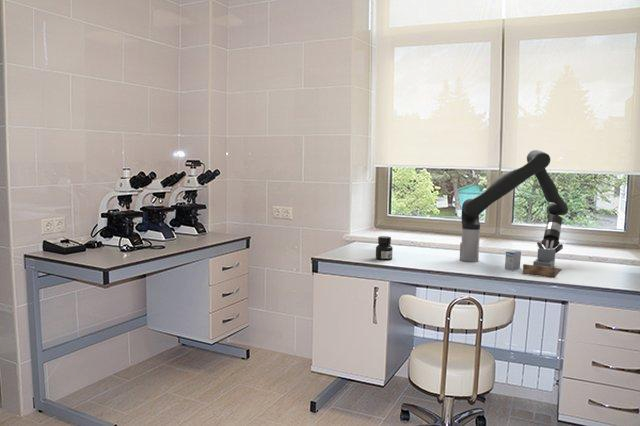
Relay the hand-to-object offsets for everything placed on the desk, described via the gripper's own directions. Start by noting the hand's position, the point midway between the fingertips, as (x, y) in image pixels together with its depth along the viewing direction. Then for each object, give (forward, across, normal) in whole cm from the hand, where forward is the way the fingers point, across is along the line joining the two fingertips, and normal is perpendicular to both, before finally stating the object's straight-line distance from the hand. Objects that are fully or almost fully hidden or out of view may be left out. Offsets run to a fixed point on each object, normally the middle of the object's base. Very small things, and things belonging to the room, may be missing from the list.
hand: (547, 258), depth 269 cm
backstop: (+13, 0, -7) cm, 15 cm away
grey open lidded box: (+10, 0, -4) cm, 11 cm away
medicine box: (+13, -14, -6) cm, 20 cm away
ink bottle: (+25, -77, -18) cm, 83 cm away
